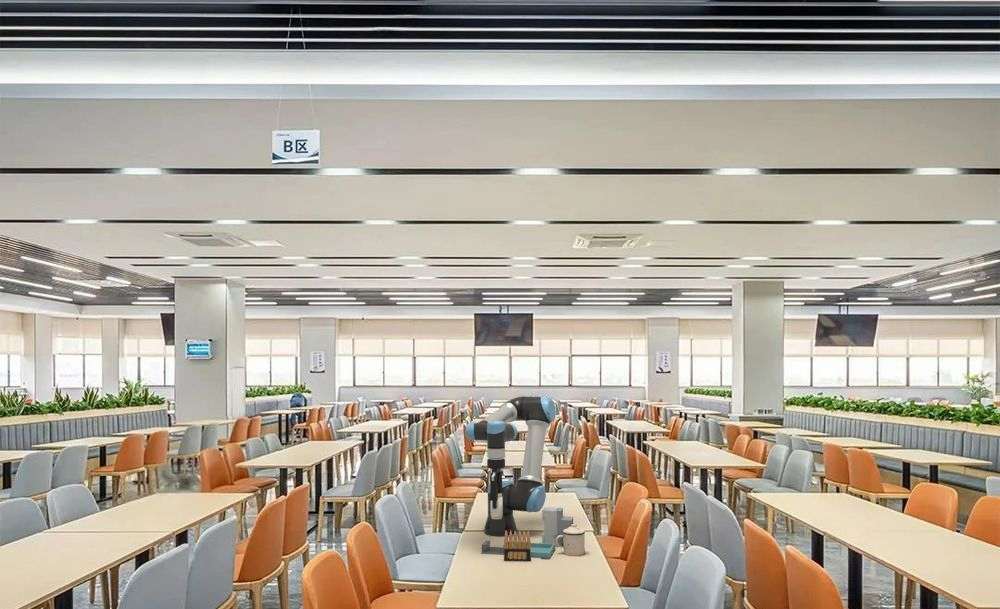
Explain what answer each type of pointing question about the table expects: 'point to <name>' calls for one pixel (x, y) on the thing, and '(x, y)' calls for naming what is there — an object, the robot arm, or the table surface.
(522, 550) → the ammunition clip
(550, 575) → the table surface
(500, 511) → the cylinder
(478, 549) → the table surface
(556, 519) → the circuit breaker
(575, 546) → the teacup with lid
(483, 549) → the grey square holder base
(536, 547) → the parts tray
